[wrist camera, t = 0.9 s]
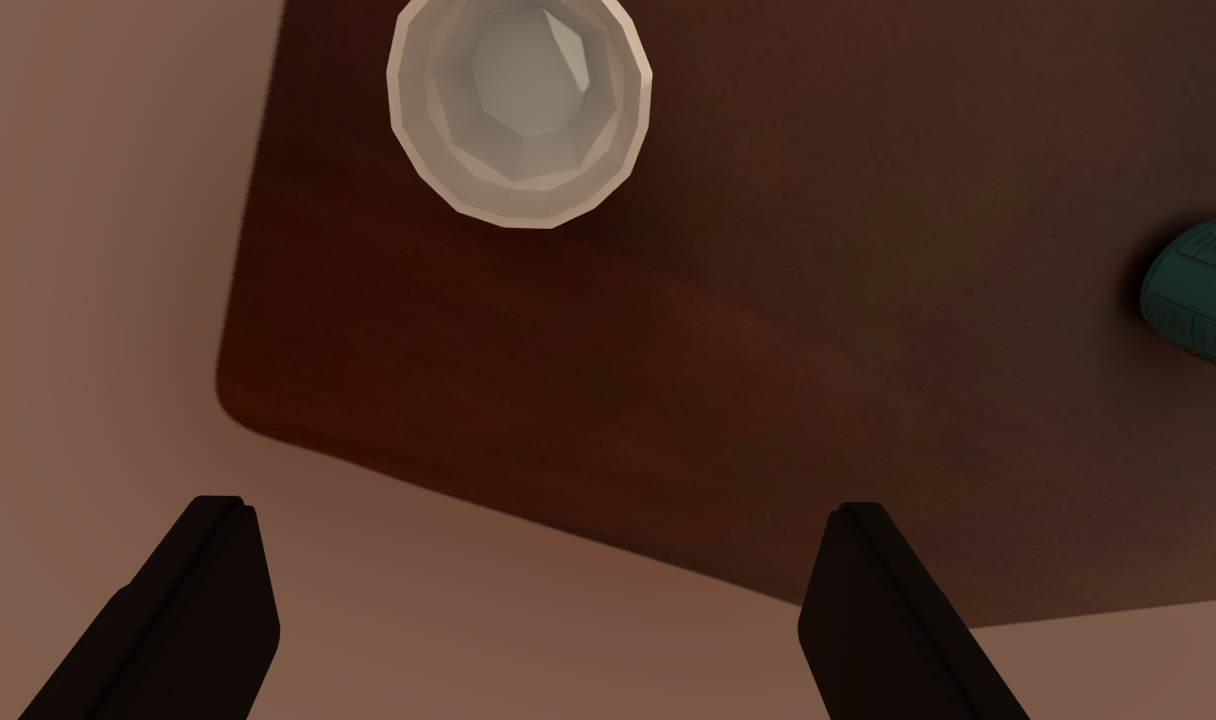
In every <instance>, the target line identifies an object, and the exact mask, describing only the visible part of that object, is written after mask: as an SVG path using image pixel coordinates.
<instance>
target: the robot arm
mask: <svg viewBox="0 0 1216 720" xmlns="http://www.w3.org/2000/svg"><path fill="white" fill-rule="evenodd" d="M798 637H799V641H800V644H801V647H802V650H803V652H804V655H805V657H806V659H807V662H808V664H809V667H810V669H811V672H812V674H813V677H814V679H815V682H816V684H817V687H818V689H819V692H820V694H821V697H822V699H823V702H824V704H825V707H826V709H827V712H828V714H829V716H830V719H831V720H1030V718H1029V717H1028V715H1027V714H1026V713H1025V711H1024V710H1023V708H1022V707H1021V705H1020V704H1019V702H1018V701H1017V699H1016V698H1015V696H1014V695H1013V694H1012V692H1011V691H1010V689H1009V688H1008V686H1007V685H1006V683H1005V682H1004V681H1003V679H1002V678H1001V676H1000V675H999V673H998V672H997V670H996V669H995V668H994V666H993V665H992V663H991V662H990V660H989V659H988V657H987V656H986V655H985V653H984V652H983V650H982V649H981V647H980V646H979V645H978V643H977V641H976V640H975V639H974V637H973V636H972V634H971V633H970V631H969V630H968V628H967V627H966V625H965V624H964V623H963V621H962V620H961V618H960V617H959V615H958V614H957V612H956V611H955V609H954V608H953V607H952V605H951V604H950V602H949V601H948V599H947V598H946V596H945V595H944V594H943V593H942V591H941V590H940V589H939V588H938V586H937V585H936V583H935V582H934V580H933V579H932V577H931V576H930V575H929V573H928V572H927V570H926V569H925V567H924V566H923V564H922V563H921V561H920V560H919V559H918V557H917V556H916V554H915V553H914V551H913V550H912V548H911V547H910V545H909V544H908V543H907V541H906V540H905V538H904V537H903V535H902V534H901V532H900V531H899V529H898V528H897V527H896V525H895V524H894V522H893V521H892V519H891V518H890V516H889V515H888V513H887V512H886V511H885V509H884V508H883V507H882V506H881V505H880V504H878V503H876V502H845V503H842V504H841V506H840V507H839V509H838V511H832V512H831V513H830V515H829V518H828V521H827V525H826V528H825V531H824V535H823V538H822V542H821V545H820V548H819V552H818V555H817V559H816V562H815V565H814V569H813V572H812V576H811V579H810V582H809V586H808V589H807V593H806V596H805V599H804V603H803V606H802V610H801V613H800V617H799V621H798ZM279 639H280V623H279V618H278V614H277V609H276V604H275V600H274V595H273V591H272V586H271V581H270V576H269V572H268V567H267V562H266V558H265V553H264V549H263V543H262V539H261V534H260V529H259V525H258V520H257V516H256V512H255V509H254V507H253V506H247V505H244V502H243V500H242V498H241V497H239V496H198V497H195V498H194V499H193V501H192V502H191V503H190V504H189V505H188V507H187V508H186V509H185V511H184V512H183V513H182V515H181V516H180V517H179V519H178V520H177V521H176V523H175V524H174V525H173V527H172V528H171V529H170V530H169V532H168V533H167V535H166V536H165V537H164V538H163V540H162V541H161V542H160V544H159V545H158V546H157V548H156V549H155V550H154V552H153V553H152V554H151V556H150V557H149V558H148V560H147V561H146V562H145V564H144V565H143V566H142V568H141V569H140V570H139V572H138V573H137V574H136V576H135V577H134V578H133V580H132V581H131V583H130V584H129V585H126V586H125V587H123V588H121V589H119V590H118V591H117V593H115V594H114V595H113V597H112V598H111V599H110V600H109V601H108V603H107V604H106V605H105V607H104V608H103V609H102V610H101V612H100V613H99V615H98V616H97V617H96V618H95V619H94V621H93V622H92V623H91V625H90V626H89V627H88V629H87V630H86V631H85V633H84V634H83V635H82V636H81V638H80V639H79V640H78V642H77V643H76V644H75V646H74V647H73V648H72V649H71V651H70V652H69V654H68V655H67V656H66V658H65V659H64V660H63V661H62V663H61V664H60V665H59V666H58V668H57V669H56V670H55V672H54V673H53V674H52V676H51V677H50V678H49V680H48V681H47V682H46V684H45V685H44V686H43V687H42V689H41V690H40V691H39V693H38V694H37V695H36V696H35V698H34V699H33V700H32V702H31V703H30V704H29V706H28V707H27V708H26V710H25V711H24V712H23V713H22V715H21V716H20V717H19V719H18V720H246V719H247V717H248V715H249V712H250V710H251V707H252V705H253V703H254V701H255V699H256V696H257V694H258V692H259V689H260V687H261V685H262V683H263V680H264V678H265V676H266V674H267V671H268V669H269V667H270V664H271V662H272V660H273V658H274V655H275V653H276V650H277V647H278V644H279Z"/></svg>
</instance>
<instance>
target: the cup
mask: <svg viewBox="0 0 1216 720" xmlns="http://www.w3.org/2000/svg"><path fill="white" fill-rule="evenodd" d="M386 74H387V85H388V95H389V105H390V116H391V126H392V130H393V131H394V133H395V135H396V136H397V138H398V140H399V141H400V143H401V145H402V147H403V148H404V150H405V152H406V153H407V155H408V157H409V159H410V160H411V162H412V164H413V165H414V167H415V169H416V171H417V172H418V174H419V176H420V177H421V178H422V179H424V180H425V181H426V182H427V183H428V184H429V185H430V186H431V187H432V188H433V189H434V190H435V191H436V192H437V193H438V194H439V195H440V196H441V197H442V198H443V199H444V200H446V201H447V202H448V203H449V204H450V205H451V206H452V207H453V208H454V209H455V210H456V211H457V212H460V213H463V214H466V215H469V216H472V217H475V218H478V219H481V220H484V221H487V222H490V223H492V224H495V225H498V226H501V227H509V228H546V229H552V228H554V227H556V226H558V225H560V224H563V223H565V222H567V221H569V220H571V219H573V218H575V217H577V216H579V215H582V214H584V213H586V212H588V211H590V210H592V209H594V208H595V207H596V206H598V205H599V204H600V203H601V202H602V201H603V200H604V199H605V198H606V197H607V196H608V195H609V194H610V193H612V192H613V191H614V190H615V189H616V188H617V187H618V186H619V185H620V184H621V183H622V182H623V181H624V180H626V179H627V178H628V177H629V176H630V174H631V171H632V169H633V166H634V163H635V161H636V158H637V156H638V153H639V150H640V148H641V145H642V142H643V140H644V137H645V135H646V132H647V129H648V124H649V111H650V97H651V83H652V71H651V68H650V66H649V63H648V60H647V58H646V55H645V53H644V50H643V47H642V45H641V42H640V39H639V37H638V34H637V32H636V29H635V26H634V24H633V21H632V19H631V18H630V17H629V15H628V14H627V13H626V11H625V10H624V9H623V8H622V6H621V5H620V4H619V2H618V1H617V0H411V1H410V2H409V4H408V5H407V6H406V7H405V8H404V9H403V11H402V12H401V13H400V14H399V15H398V19H397V23H396V28H395V33H394V38H393V42H392V47H391V52H390V57H389V61H388V66H387V71H386Z"/></svg>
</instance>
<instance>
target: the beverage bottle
mask: <svg viewBox="0 0 1216 720" xmlns="http://www.w3.org/2000/svg"><path fill="white" fill-rule="evenodd" d="M1140 306H1141V311H1142V314H1143V316H1144V318H1145V320H1146V321H1147V322H1148V324H1149V325H1150V327H1151V328H1152V330H1153V329H1154V330H1155V331H1156V332H1157V333H1159V334H1160V335H1161V336H1163V337H1165V338H1167V339H1169V340H1171V341H1173V342H1175V343H1177V344H1179V345H1181V346H1183V347H1185V348H1187V349H1188V350H1187V349H1185V350H1184V349H1182V348H1180V347H1178V345H1175V344H1174V343H1173V342H1172V343H1173V344H1174V345H1175V346H1177V347H1178V348H1179V349H1181V350H1184V351H1186V350H1187V351H1186V352H1188V351H1189V350H1190V351H1193V352H1195V353H1198V354H1195V355H1194V354H1192V353H1190V352H1188V353H1190V354H1192V355H1194V356H1196V355H1199V356H1202V357H1204V358H1206V359H1208V360H1210V361H1212V362H1214V363H1216V218H1215V219H1211V220H1208V221H1205V222H1203V223H1200V224H1198V225H1196V226H1194V227H1192V228H1191V229H1189V230H1187V231H1186V232H1184V233H1183V234H1181V235H1180V236H1178V237H1177V238H1176V239H1175V240H1173V241H1172V242H1171V243H1170V244H1169V245H1168V246H1167V247H1166V248H1165V249H1164V250H1163V251H1162V252H1161V253H1160V254H1159V256H1158V257H1157V258H1156V260H1155V261H1154V262H1153V264H1152V265H1151V267H1150V269H1149V270H1148V272H1147V274H1146V276H1145V279H1144V282H1143V284H1142V288H1141V294H1140ZM1154 330H1153V332H1154ZM1154 333H1155V332H1154ZM1155 334H1156V333H1155ZM1156 335H1157V334H1156ZM1157 336H1158V335H1157ZM1160 339H1161V338H1160ZM1164 340H1165V339H1164ZM1166 341H1167V340H1166ZM1169 344H1170V343H1169ZM1173 344H1171V345H1173ZM1196 357H1198V356H1196ZM1198 358H1200V357H1198ZM1200 359H1202V358H1200ZM1202 360H1204V359H1202ZM1204 361H1205V362H1208V361H1206V360H1204ZM1208 363H1210V362H1208ZM1210 364H1212V363H1210ZM1212 365H1214V364H1212ZM1214 366H1216V365H1214Z"/></svg>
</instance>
